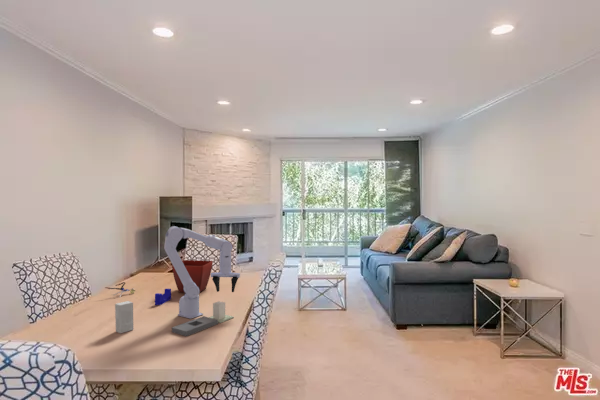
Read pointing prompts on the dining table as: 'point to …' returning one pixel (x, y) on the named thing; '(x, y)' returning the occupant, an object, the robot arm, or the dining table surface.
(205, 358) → the dining table surface
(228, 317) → the mat
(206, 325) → the gray square hole board
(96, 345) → the dining table surface
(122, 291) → the figurine
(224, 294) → the dining table surface
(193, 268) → the plant pot
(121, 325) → the skincare box
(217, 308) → the plug
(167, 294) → the cable clip
